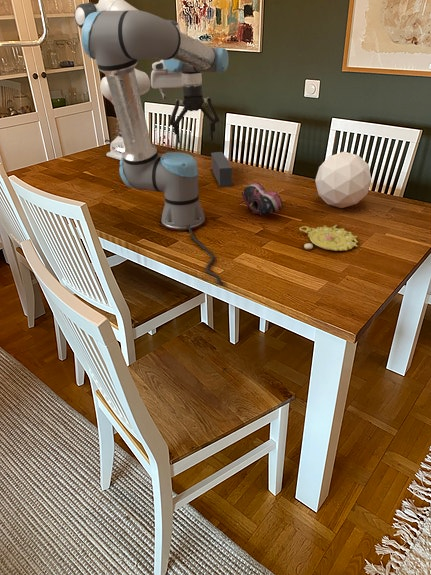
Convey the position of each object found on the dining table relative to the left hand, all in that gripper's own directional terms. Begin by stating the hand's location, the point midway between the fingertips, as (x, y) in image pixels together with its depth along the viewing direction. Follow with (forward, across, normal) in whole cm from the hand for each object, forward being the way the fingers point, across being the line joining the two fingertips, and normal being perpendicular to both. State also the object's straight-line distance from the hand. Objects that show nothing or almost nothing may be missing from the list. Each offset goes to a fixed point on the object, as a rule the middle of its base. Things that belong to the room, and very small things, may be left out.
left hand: (174, 98), depth 197 cm
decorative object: (+30, -40, +92) cm, 104 cm away
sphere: (+30, -54, +65) cm, 90 cm away
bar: (+30, -16, +24) cm, 41 cm away
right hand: (+12, -5, +28) cm, 31 cm away
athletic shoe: (+30, -23, +64) cm, 74 cm away
